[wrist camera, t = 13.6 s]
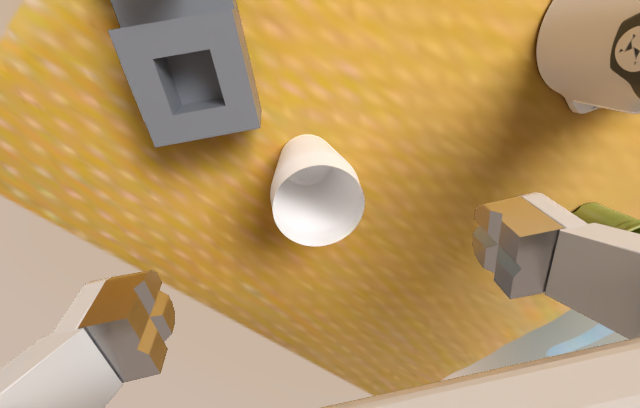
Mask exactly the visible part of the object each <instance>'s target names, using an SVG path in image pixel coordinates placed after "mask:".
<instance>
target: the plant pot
mask: <svg viewBox="0 0 640 408" xmlns="http://www.w3.org/2000/svg"><path fill="white" fill-rule="evenodd" d="M572 214H574V215H575V216H577V217H578V218H580V219H582V220H583V221H585V222H586V223H588V224H591V223H598V224H602V225H606V226H610V227H614V228H618V229H622V230H626V231H630V232H634V233H638V234H640V220H638V219H635V218H632V217H630V216H627V215H625V214H622V213H620V212H617V211H615V210H612V209H610V208H608V207H605V206H603V205H600V204H598V203H588V204H584V205H582V206H580V208H579V209H578V210H577V211H575V212H573V213H572Z"/></svg>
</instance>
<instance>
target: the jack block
mask: <svg viewBox="0 0 640 408" xmlns="http://www.w3.org/2000/svg"><path fill="white" fill-rule="evenodd" d="M110 1H111V3H112V6H113V9H114V11H115V14H116V16H117V19H118V22H119V24H120V27H121V28H118V29H112V30H108V32H109V35H110V37H111V40H112V42H113V45H114V47H115V50H116V52H117V55H118V57H119V59H120V63H121V66H122V68H123V71H124V73H125V76H126V78H127V81H128V83H129V86H130V88H131V91H132V93H133V95H134V98H135V100H136V103H137V105H138V108H139V110H140V113H141V115H142V118H143V120H144V122H145V124H146V126H147V129H148V131H149V134H150V136H151V139H152V141H153V143H154V146H155V147H161V146H166V145H171V144H177V143H182V142H188V141H193V140H198V139H204V138H209V137H215V136H220V135H226V134H231V133H236V132H242V131H247V130H253V129H258V128H260V126H261V106H260V102H259V97H258V93H257V89H256V84H255V80H254V76H253V71H252V67H251V63H250V58H249V54H248V50H247V45H246V41H245V37H244V32H243V28H242V24H241V19H240V15H239V11H238V6H237V2H236V0H110Z"/></svg>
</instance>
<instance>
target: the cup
mask: <svg viewBox="0 0 640 408" xmlns="http://www.w3.org/2000/svg"><path fill="white" fill-rule="evenodd" d="M270 199H271V205H272V211H273V217H274V220H275V223H276V225H277V227H278V228H279V230H280V231H281V232H282V233H283V234H284V235H285V236H286V237H287V238H289V239H290V240H292V241H294V242H296V243H299V244H302V245H306V246H325V245H329V244H332V243H335V242H337V241H340V240H341V239H343V238H345V237H346V236H348V235H349V234H350V233H351V232H352V231H353V230H354V229H355V228H356V226H357V225H358V224H359V222H360V220H361V218H362V215H363V212H364V207H365V199H364V193H363V191H362V188H361V186H360V183H359V180H358V177H357V175H356V173H355V171H354V169H353V168H352V167H351V165H350V164H349V163H348V162H347V161H346V160H345V159H344V158H343V157H342V156H341V155H340V154H339V153H338V152H337V151H335V150H334V149H333V148H332V147H331V146H330V145H329V144H328V143H327V142H326V141H325V140H324V139H322V138H320V137H318V136H315V135H310V134H305V135H300V136H297V137H295V138H293V139H291V140H290V141H289V142H287V143H286V145H285V146H284V147H283V149H282V151H281V154H280V157H279V161H278V164H277V167H276V170H275V174H274V177H273V180H272V184H271V189H270Z"/></svg>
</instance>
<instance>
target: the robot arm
mask: <svg viewBox="0 0 640 408" xmlns="http://www.w3.org/2000/svg"><path fill="white" fill-rule="evenodd" d="M536 57H537V65H538V69H539V72H540V74H541V77H542V78H543V80H544V81H545V83H546V84H547V85H548V86H549V87H550V88H551V89H553V90H554V91H556V92H557V93H559V94H561V95H562V96H563V97H564V98H565V99H566V102H567V104H568V106H569V108H570V109H571V110H572V111H573V112H575V113H579V114H585V113H588V112H591V111H593V110H596V109H598V108H605V109H610V110H615V111H620V112H625V113H629V114H639V113H640V0H553V1H552V3H551V5H550V7H549V8H548V10H547V12H546V15H545V17H544V19H543V22H542V25H541V28H540V31H539V35H538V40H537V50H536ZM474 220H475V221H476V222H477V223H478V224H479V226H478V228H477V229H476V230H475V231H474V233H473V242H472V245H473V249H474V253H475V256H476V258H477V260H478V261H479V263H480V264H481V265H482V267H483V268H484V269H487V270H489V271H491V272H494V273H495V275H494V281H495V282H496V283H497V285H498V286H499V287H500V288H501V289H502V290H503V292H504V293H505V294H506V295H507V296H508V297H509V299H513V298H519V297H524V296H530V295H535V294H540V293H545V295H547V296H549V297H551V298H552V299H554V300H556V301H558V302H560V303H562V304H564V305H566V306H568V307H570V308H571V309H573V310H575V311H577V312H579V313H581V314H583V315H585V316H587V317H589V318H590V319H592V320H594V321H596V322H598V323H600V324H602V325H604V326H605V327H607V328H609V329H611V330H613V331H615V332H617V333H619V334H621V335H622V336H624V337H627V338H629V340H624V341H620V342H616V343H611V344H607V345H602V346H597V347H593V348H588V349H584V350H579V351H575V352H570V353H566V354H561V355H556V356H552V357H547V358H543V359H538V360H534V361H529V362H525V363H521V364H516V365H512V366H507V367H502V368H498V369H493V370H489V371H484V372H480V373H475V374H471V375H466V376H462V377H457V378H454V379H448V380H444V381H439V382H435V383H430V384H426V385H421V386H417V387H412V388H408V389H403V390H399V391H394V392H390V393H385V394H381V395H376V396H372V397H367V398H363V399H358V400H354V401H349V402H345V403H340V404H336V405H331V406H327V407H322V408H640V234H638V233H634V232H630V231H626V230H622V229H618V228H614V227H610V226H606V225H602V224H598V223H591V224H588V223H586V222H585V221H583V220H582V219H580V218H578V217H577V216H575V215H574V214H572V213H571V212H569V211H568V210H566V209H565V208H563V207H562V206H560V205H559V204H557V203H556V202H554V201H553V200H551V199H550V198H548V197H547V196H545V195H544V194H542V193H539V192H533V193H528V194H524V195H520V196H516V197H513V198H508V199H504V200H499V201H494V202H490V203H485V204H480V205H477V207H476V210H475V215H474ZM161 285H162V281H161V279H160V277H159V276H158V274H157V272H155V271H152V270H149V271H144V272H138V273H133V274H128V275H122V276H116V277H111V278H105V279H100V280H96V281H91V282H89V283H87V284H85V285H84V286H83V288H82V289H81V291H80V292H79V294H78V295H77V297H76V298H75V300H74V301H73V303H72V304H71V306H70V307H69V309H68V310H67V312H66V313H65V315H64V316H63V318H62V319H61V321H60V322H59V324H58V325H57V327H56V328H55V330H54V331H53V333H52V334H51V335H47V336H43V337H42V338H41V339H40V340H38V341H37V342H35V343H34V344H33V345H31V346H30V347H29V348H27V349H26V350H24V351H23V352H22V353H20V354H19V355H18V356H16V357H15V358H14V359H12V360H11V361H10V362H8V363H7V364H6V365H4V366H3V367H1V368H0V408H104V407H105V406H106V405H107V404H108V403H109V401H110V400H111V399H112V398H113V396H114V395H115V394H116V393H117V392H118V390H119V389H120V388H121V387H122V385H123V383H124V382H128V381H132V380H136V379H140V378H144V377H148V376H152V375H157V374H160V373H161V370H162V366H163V363H164V359H165V356H166V353H167V347H166V345H165V343H164V341H165V340H166V339H167V338H168V337H169V336H170V335H171V334H172V331H173V328H174V324H175V311H174V307H173V304H172V301H171V299H170V297H169V296H168V295H167V294H165V293H163V292H161V291H160V287H161Z"/></svg>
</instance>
